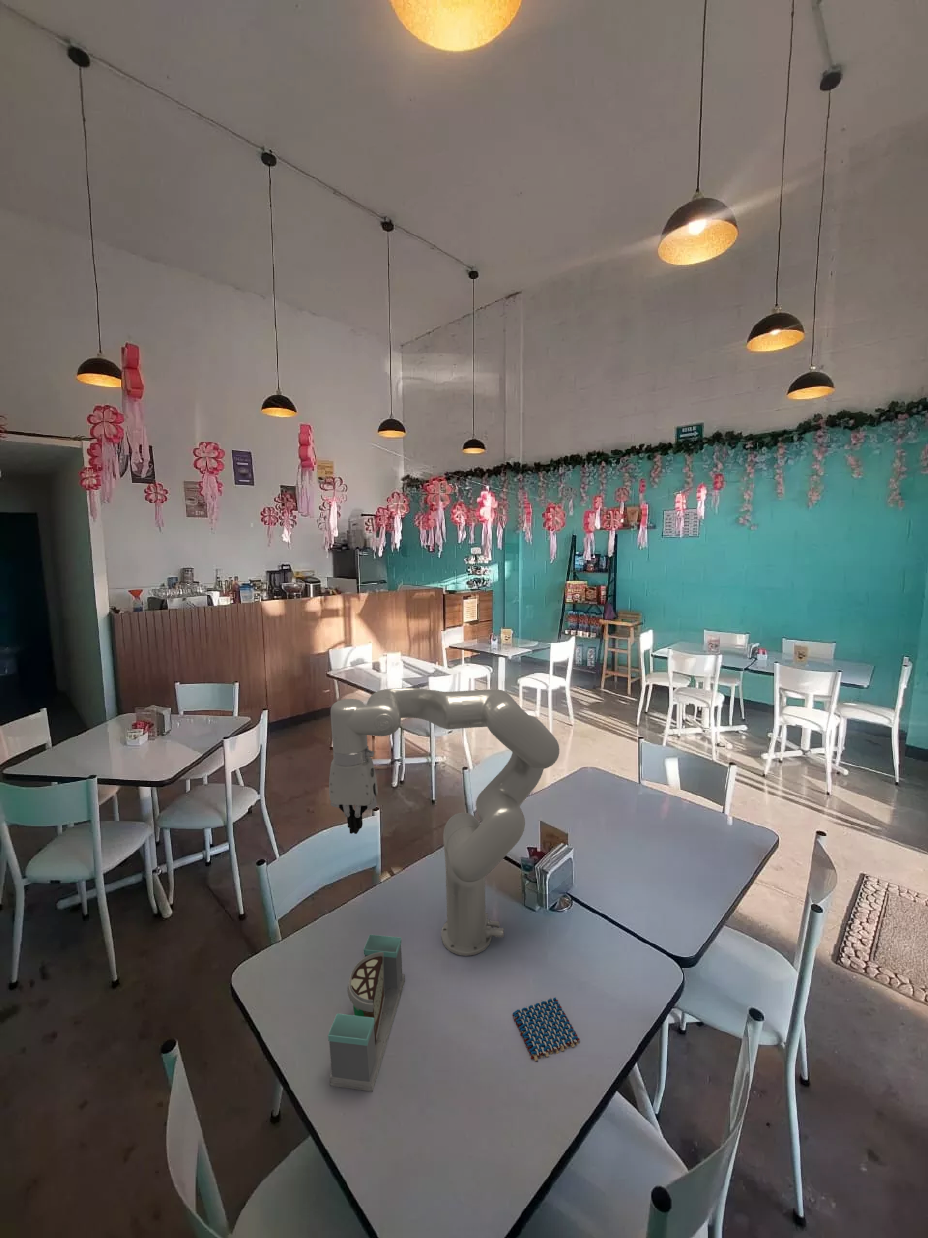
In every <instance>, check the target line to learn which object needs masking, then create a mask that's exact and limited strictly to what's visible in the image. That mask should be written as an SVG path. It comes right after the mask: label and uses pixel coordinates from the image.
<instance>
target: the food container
mask: <svg viewBox="0 0 928 1238" xmlns="http://www.w3.org/2000/svg"><path fill="white" fill-rule="evenodd" d="M383 959H384V954H383V952H378V953H374V954H371V955H368V956H366V957H365V956H364V957H363V958H362V959H360V960H359V961H358V962H357V963H356V965H355V966H354V967H353V969H352V971H351V972H350V975H349V978H348V983H347V996H348V999H349V1001H350V1002H351V1003H352V1007H353V1014H354V1015H355V1016H362V1017H371V1018H374V1020H375V1024H374V1032H375V1040H377V1035H378V1030H379V1024H380V1019H381V1014H382V1008H383V1003H384V998H385V992H384V960H383Z"/></svg>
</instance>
